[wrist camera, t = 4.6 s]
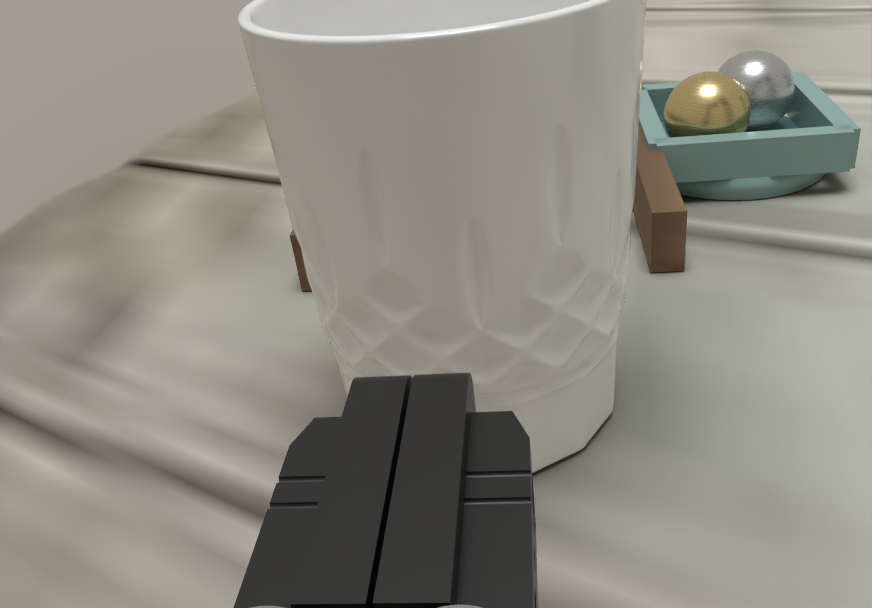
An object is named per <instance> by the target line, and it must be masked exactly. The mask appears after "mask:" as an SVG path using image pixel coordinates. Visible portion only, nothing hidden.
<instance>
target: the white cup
mask: <svg viewBox="0 0 872 608" xmlns="http://www.w3.org/2000/svg"><path fill="white" fill-rule="evenodd" d="M645 15H646V0H253V1H252V2H250V3H249V4H248V5H246V6H245V7H244V8H243V9H242V10H241V12H240V13H239V15H238V24H239V27H240V31H241V35H242V38H243V42H244V46H245V49H246V53H247V57H248V60H249V64H250V68H251V71H252V75H253V79H254V83H255V87H256V90H257V94H258V98H259V102H260V106H261V109H262V112H263V116H264V119H265V123H266V127H267V130H268V134H269V138H270V142H271V145H272V149H273V153H274V157H275V161H276V164H277V168H278V172H279V176H280V180H281V184H282V188H283V191H284V196H285V200H286V204H287V208H288V212H289V216H290V220H291V224H292V227H293V229H294V232H295V235H296V237H297V240H298V242H299V244H300V247H301V250H302V255H303V260H304V265H305V269H306V274H307V278H308V282H309V284H310V287H311V290H312V293H313V296H314V298H315V301H316V303H317V306H318V311H319V316H320V320H321V325H322V328H323V332H324V335H325V336H326V338H327V339H328V340H329V342H330V343H331V345H332V346H333V351H334V354H335V357H336V359H337V362H338V365H339V369H340V373H341V377H342V381H343V385H344V389H345V393H346V397H348V393H349V390H350V386H351V383H352V381H353V379H354V378H355V377H377V376H402V375H411V376H412V378H413V376H414V375H421V374H445V373H471V376H472V381H473V389H474V398H475V407H476V412H494V411H513V413H514V414H515V416H516V417H517V419H518V420H519V422H520V423H521V425H522V427H523V428H524V430H525V431H526V433H527V434H528V436H529V437H530V448H531V463H532V473H534V472H536V471H538V470H540V469H542V468H544V467H546V466H548V465H551V464H553V463H555V462H557V461H559V460H561V459H563V458H565V457H567V456H569V455H571V454H573V453H575V452H577V451H579V450H581V449H583V448H584V447H585V446H586V444H587V443H588V442H589V440H590V439H591V438H592V437H593V435H594V434H595V433H596V432H597V430H598V429H599V428H600V427H601V425H602V424H603V423H604V422H605V420H606V419H607V418H608V417H609V415H610V414H611V413H612V411H613V407H614V392H615V370H616V350H617V337H618V330H619V316H620V313H621V310H622V307H623V304H624V302H625V299H626V278H627V271H628V264H629V254H630V244H631V234H630V223H631V216H632V209H633V203H634V196H635V186H636V165H637V146H638V129H639V112H640V95H641V79H642V64H643V48H644V31H645Z"/></svg>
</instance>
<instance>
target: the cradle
mask: <svg viewBox="0 0 872 608" xmlns="http://www.w3.org/2000/svg"><path fill="white" fill-rule="evenodd" d="M633 211H634V214H635V218H636V221H637V225H638V229H639V232H640V236H641V239H642V243H643V247H644V250H645V254H646V258H647V261H648V265H649V268H650V272H669V271H684V264H685V244H686V224H687V209H686V207H685V204H684V202H683V199H682V197H681V195H680V192H679V190H678V187H677V185H676V182H675V180H674V177H673V175H672V172H671V170H670V167H669V165H668V162H667V160H666V157H665V155H664V152H663V151H658V152H657V150H656V149H648V147H647V144H646V141H645V138H644V136H643V133H642V130H641V128H640V125H639V129H638V146H637V165H636V186H635V196H634V203H633ZM290 238H291V243H292V247H293V252H294V256H295V261H296V265H297V270H298V274H299V279H300V284H301V288H302V291H310V290H311V287H310V284H309V282H308V278H307V274H306V269H305V265H304V260H303V255H302V250H301V247H300V244H299V242H298V240H297V237H296V235H295V232H294V229H293V231H292V232H291V234H290Z"/></svg>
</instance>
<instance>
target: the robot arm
mask: <svg viewBox="0 0 872 608" xmlns="http://www.w3.org/2000/svg"><path fill="white" fill-rule="evenodd" d="M536 560H537V557H536V523H535V508H534V493H533V478H532V463H531V448H530V437H529V436H528V434H527V433H526V431H525V430H524V428H523V427H522V425H521V423H520V422H519V420H518V419H517V417H516V416H515V414H514V413H513V411H494V412H476V407H475V398H474V389H473V381H472V376H471V373H445V374H421V375H414V376H413V378H412V376H411V375H402V376H377V377H355V378H354V379H353V381H352V383H351V386H350V390H349V393H348V397H347V401H346V404H345V408H344V411H343V415H342V417H328V418H314V419H313V420H312V422H311V423H310V424H309V425H308V426H307V427H306V428H305V429H304V430H303V431H302V433H301V434H300V435H299V436H298V437H297V438H296V439H295V440H294V441H293V442H292V443H291V445H290V446H289V449H288V452H287V455H286V458H285V461H284V463H283V466H282V469H281V472H280V475H279V483H277V484H276V487H275V489H274V492H273V495H272V498H271V501H270V510H267V513H266V515H265V518H264V521H263V524H262V527H261V530H260V533H259V536H258V539H257V541H256V544H255V547H254V550H253V553H252V556H251V559H250V562H249V565H248V568H247V570H246V573H245V576H244V579H243V582H242V585H241V588H240V591H239V594H238V596H237V599H236V602H235V605H234V608H538V595H537V561H536Z"/></svg>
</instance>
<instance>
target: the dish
mask: <svg viewBox="0 0 872 608" xmlns="http://www.w3.org/2000/svg"><path fill="white" fill-rule="evenodd" d="M792 76H793V79H794V87H795V89H794V97H793V100H792V103H791V105H790V107H789V109H788V111H787V112H786V114H787V115H788V116H789V117H790V118H789V117H784V116H783V117H782V118H781V119H780V120H779V121H778V122H777V123H775V124H774V125H772V126H770V127H768V128H766V129H763V130H760V131H755V132H741V133H727V134H713V135H700V136H686V137H672V138H669V136H668V134H667V132H666V129H665V125H664V109H665V105H666V102H667V100H668V97H669V96H670V94H671V92H672V91H673V90H674V88H675V87H676V86H677V85H678V84H679V83H681V82H672V83H659V84H647V85H641V95H640V112H639V125H640V128H641V130H642V133H643V136H644V138H645V141H646V144H647V147H648V149H656V150H657V152H658V151H663V152H664V155H665V157H666V160H667V162H668V165H669V167H670V170H671V172H672V175H673V177H674V180H675V182H676V185H677V187H678V190H679V192H680V195H685V196H690V197H696V198H704V199H714V200H752V199H763V198H770V197H776V196H781V195H786V194H790V193H793V192H796V191H800V190H802V189H805V188H807V187H809V186H811V185H813V184H815V183H816V182H818V181H819V180H820V179H821V178H822V177H823V176H824V175H825V174H826V173H832V172H847V171H849V170H850V168H855V162H856V155H857V149H858V143H859V136H860V130H861V128H859V127H858V126H857V125H856V124H855V123H854V122H853V121H852V120H851V119H850V118H849V117H848V116H847V115H846V114H845V113H844V112H843V111H842V110H841V109H840V108H839V107H838V106H837V105H836V104H835V103H834V102H833V101H832V100H831V99H830V98H829V97H828V96H827V95H826V94H825V93H824V92H823V91H822V90H821V89H820V88H819V87H818V86H817V85H816V84H815V83H814V82H813V81H812V80H811V79H810V78H809V77H808V76H807V75H806V74H797V73H796V72H795V73H792Z"/></svg>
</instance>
